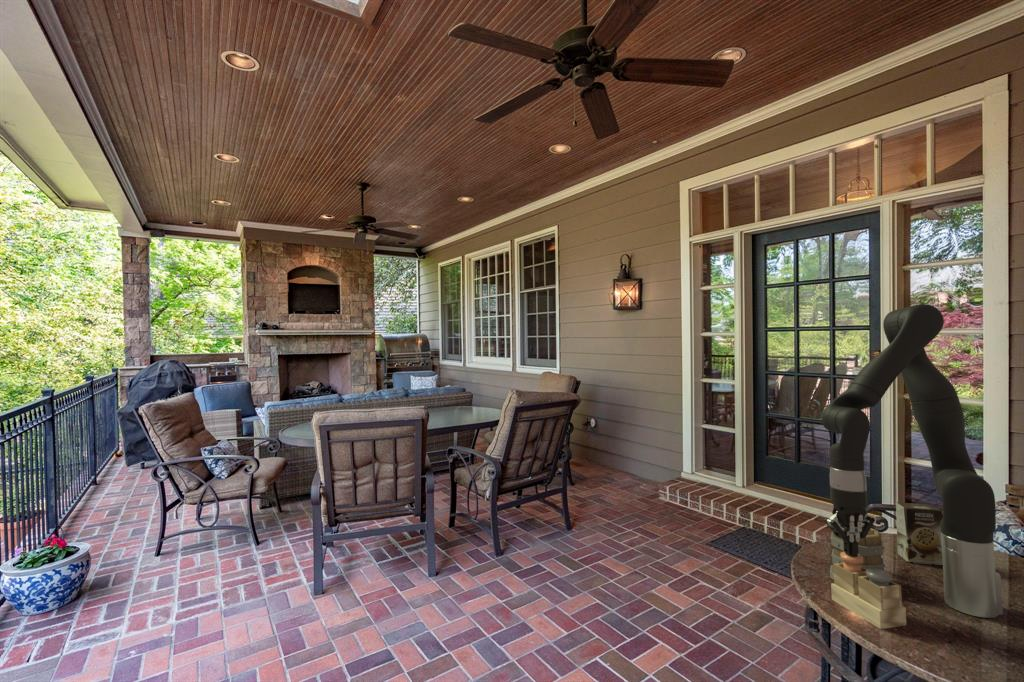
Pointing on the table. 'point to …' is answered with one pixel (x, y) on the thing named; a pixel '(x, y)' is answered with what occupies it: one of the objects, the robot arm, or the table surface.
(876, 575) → the grey mushroom plug
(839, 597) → the frame
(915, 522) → the coffee box
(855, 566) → the terracotta plug
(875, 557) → the tankard
